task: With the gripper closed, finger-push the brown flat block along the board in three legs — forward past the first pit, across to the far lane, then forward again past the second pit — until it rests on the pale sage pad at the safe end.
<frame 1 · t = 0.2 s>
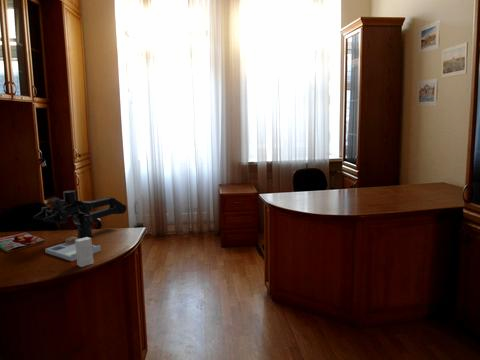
hand: (37, 219, 199), 16 cm above the table, tool horizontal, fingers open, 9 cm apart
brown flat block: (72, 242, 206), point 2 cm above the table, touching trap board
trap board: (73, 251, 198), on the table
skincare box: (85, 264, 181), on the table
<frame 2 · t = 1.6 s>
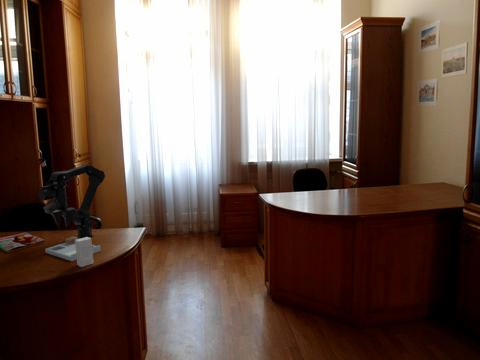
hand: (62, 225, 208), 10 cm above the table, tool pointing down, fingers open, 8 cm apart
nothing on the table moved.
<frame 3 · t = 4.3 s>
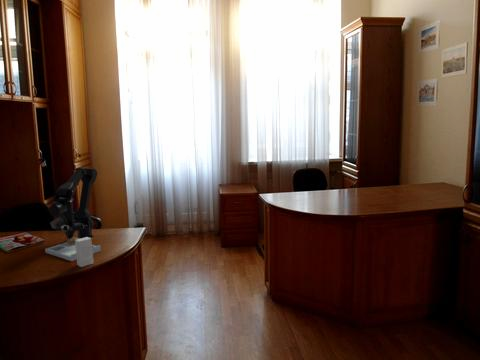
hand: (69, 240, 207), 3 cm above the table, tool pointing down, fingers closed
brown flat block: (73, 243, 205), point 2 cm above the table, touching gripper
everything else where it was.
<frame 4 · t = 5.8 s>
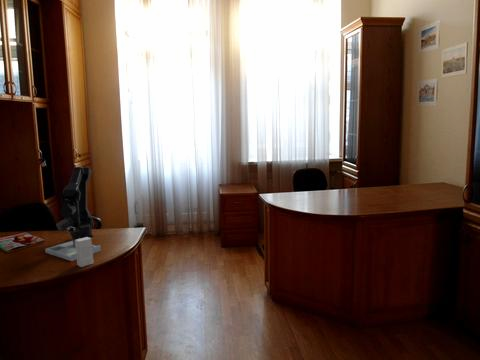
hand: (75, 242, 204), 3 cm above the table, tool pointing down, fingers closed
brown flat block: (79, 245, 202), point 2 cm above the table, touching gripper, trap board
everything else where it was.
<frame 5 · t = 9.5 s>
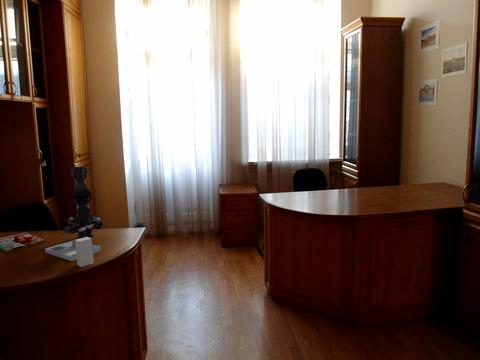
hand: (86, 242, 204), 3 cm above the table, tool pointing down, fingers closed
nothing on the table moved.
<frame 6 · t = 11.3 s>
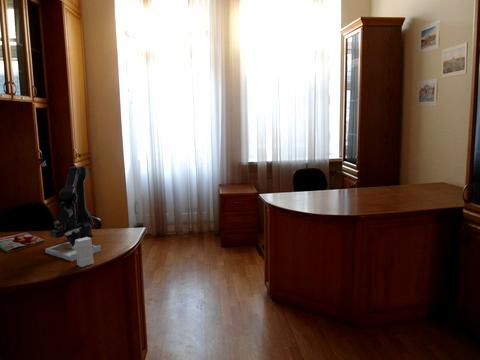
hand: (72, 246, 198), 3 cm above the table, tool pointing down, fingers closed
brown flat block: (65, 249, 196), point 2 cm above the table, touching gripper, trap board
everything else where it was.
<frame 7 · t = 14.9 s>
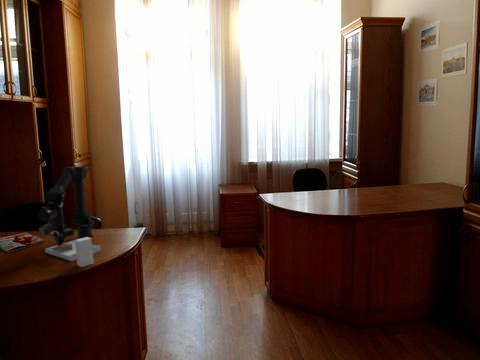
hand: (59, 247, 197), 3 cm above the table, tool pointing down, fingers closed
brown flat block: (65, 249, 196), point 2 cm above the table, touching gripper
everything else where it was.
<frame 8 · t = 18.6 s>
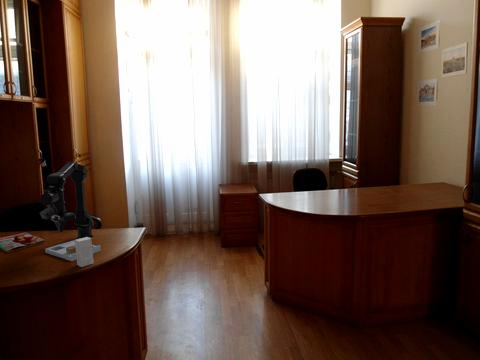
hand: (60, 232, 194), 11 cm above the table, tool pointing down, fingers closed
brown flat block: (73, 252, 192), point 2 cm above the table, touching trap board
everything else where it was.
at the end: brown flat block inside the target area (1.4 cm from its centre), point 2.0 cm above the table; brown flat block tilted 0°; brown flat block touching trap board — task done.
